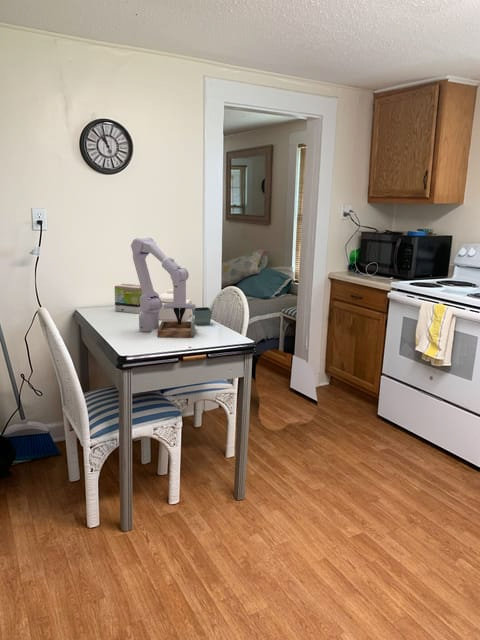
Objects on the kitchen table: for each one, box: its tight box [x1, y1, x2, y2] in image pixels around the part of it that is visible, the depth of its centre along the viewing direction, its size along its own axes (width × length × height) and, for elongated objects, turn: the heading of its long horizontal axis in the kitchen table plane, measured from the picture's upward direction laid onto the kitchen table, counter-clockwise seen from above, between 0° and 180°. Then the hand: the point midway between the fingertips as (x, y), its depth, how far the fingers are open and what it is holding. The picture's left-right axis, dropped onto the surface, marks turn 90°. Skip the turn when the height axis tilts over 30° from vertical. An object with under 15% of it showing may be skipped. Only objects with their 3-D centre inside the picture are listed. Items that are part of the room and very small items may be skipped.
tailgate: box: [191, 315, 196, 336], centre depth 235 cm, size 2×17×6 cm, turn 3°
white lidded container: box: [158, 288, 193, 321], centre depth 273 cm, size 18×18×16 cm
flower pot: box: [191, 306, 213, 326], centre depth 254 cm, size 9×9×9 cm
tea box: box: [114, 283, 143, 314], centre depth 286 cm, size 15×10×15 cm, turn 73°
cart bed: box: [156, 320, 196, 339], centre depth 235 cm, size 16×20×4 cm
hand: (179, 324), depth 234 cm, fingers closed
